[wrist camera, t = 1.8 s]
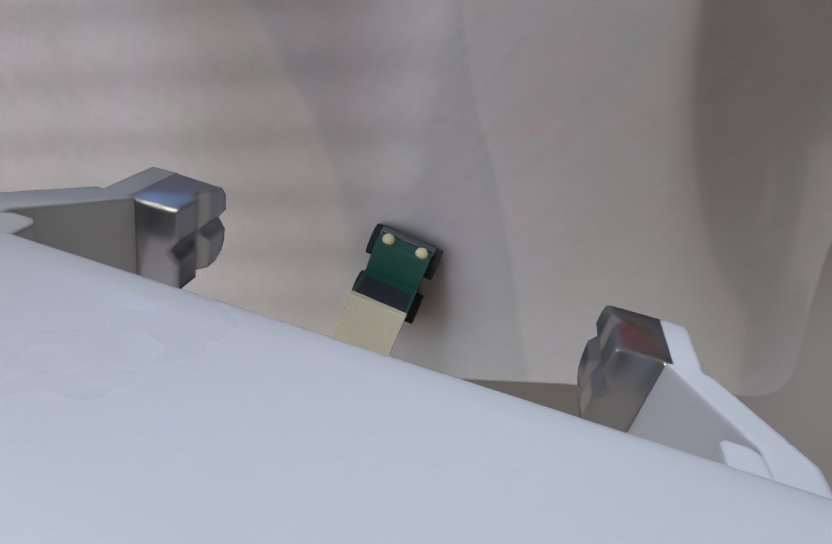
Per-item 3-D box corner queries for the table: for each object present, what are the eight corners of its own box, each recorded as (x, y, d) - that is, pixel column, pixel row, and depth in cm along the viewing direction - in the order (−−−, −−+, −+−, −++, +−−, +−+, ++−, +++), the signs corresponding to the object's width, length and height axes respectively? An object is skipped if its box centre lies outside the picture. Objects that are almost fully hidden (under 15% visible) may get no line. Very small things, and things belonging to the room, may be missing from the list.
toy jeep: (414, 316, 50) (391, 373, 43) (355, 291, 50) (322, 343, 43) (448, 239, 46) (429, 288, 39) (383, 211, 46) (352, 255, 39)
